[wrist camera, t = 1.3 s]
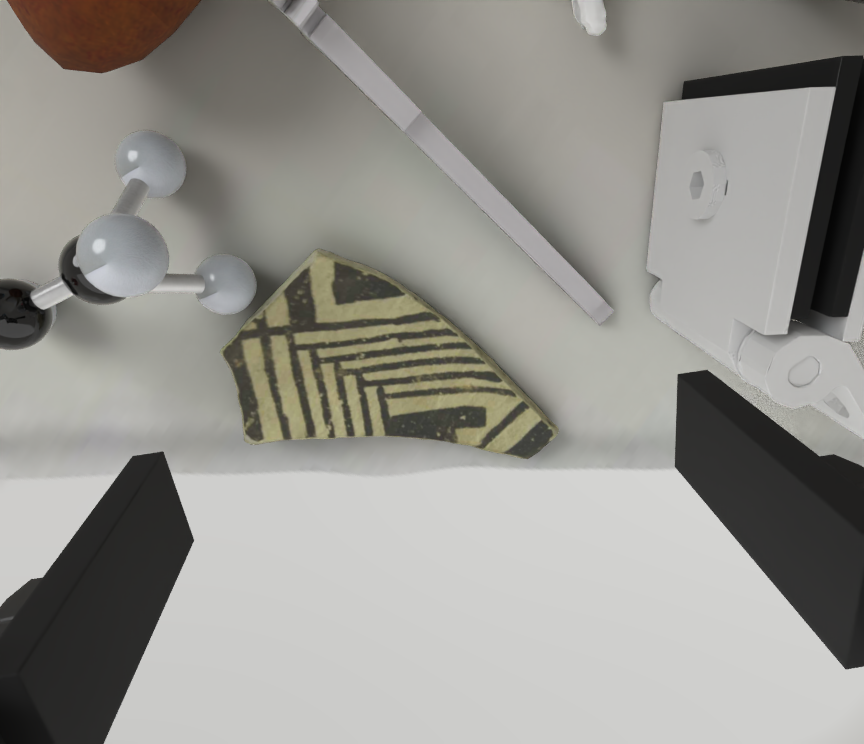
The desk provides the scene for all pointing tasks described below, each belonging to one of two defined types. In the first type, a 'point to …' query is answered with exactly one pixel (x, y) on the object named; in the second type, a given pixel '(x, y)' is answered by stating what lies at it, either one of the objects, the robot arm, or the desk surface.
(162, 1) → the potato
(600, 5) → the white tapered spike
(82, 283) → the molecular model
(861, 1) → the mug
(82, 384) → the desk surface
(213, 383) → the desk surface
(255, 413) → the pottery shard
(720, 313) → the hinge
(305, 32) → the caliper
